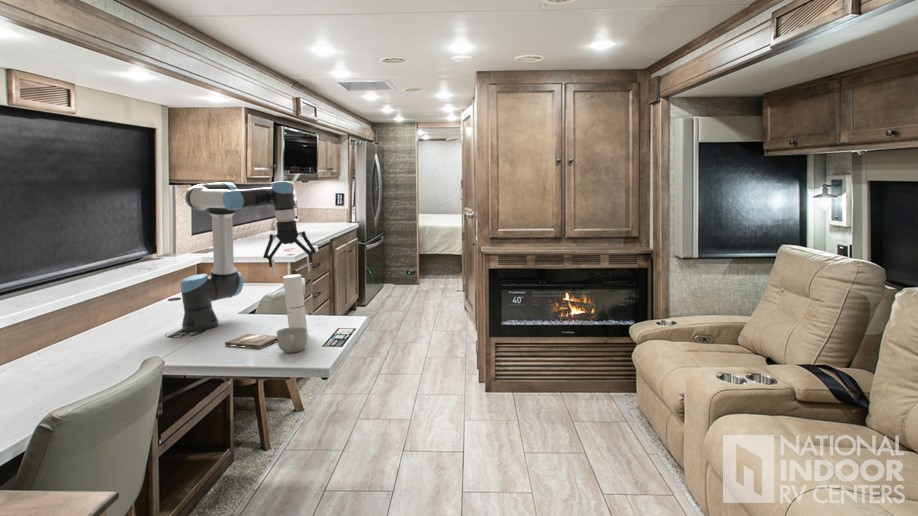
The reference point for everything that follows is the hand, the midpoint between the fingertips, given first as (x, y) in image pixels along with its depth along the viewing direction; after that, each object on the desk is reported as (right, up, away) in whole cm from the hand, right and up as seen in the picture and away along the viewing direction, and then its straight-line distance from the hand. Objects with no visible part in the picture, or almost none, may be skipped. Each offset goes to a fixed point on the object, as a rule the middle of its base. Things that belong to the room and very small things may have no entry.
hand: (292, 273), depth 243 cm
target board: (-15, -28, -1) cm, 32 cm away
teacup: (+5, -29, -17) cm, 34 cm away
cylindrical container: (+2, -26, +4) cm, 26 cm away
